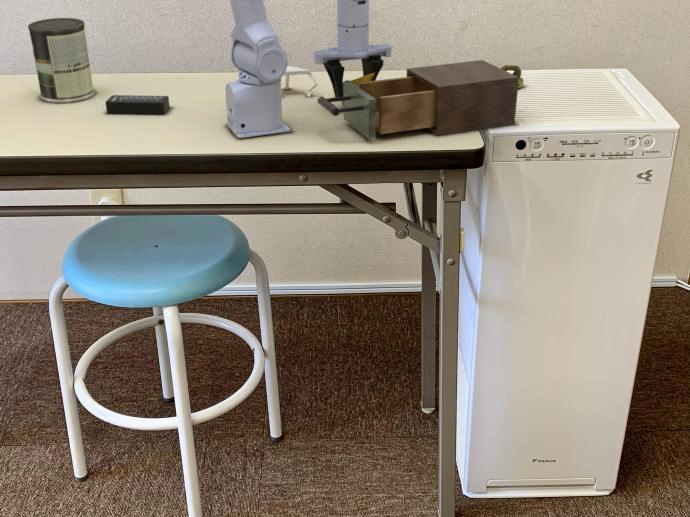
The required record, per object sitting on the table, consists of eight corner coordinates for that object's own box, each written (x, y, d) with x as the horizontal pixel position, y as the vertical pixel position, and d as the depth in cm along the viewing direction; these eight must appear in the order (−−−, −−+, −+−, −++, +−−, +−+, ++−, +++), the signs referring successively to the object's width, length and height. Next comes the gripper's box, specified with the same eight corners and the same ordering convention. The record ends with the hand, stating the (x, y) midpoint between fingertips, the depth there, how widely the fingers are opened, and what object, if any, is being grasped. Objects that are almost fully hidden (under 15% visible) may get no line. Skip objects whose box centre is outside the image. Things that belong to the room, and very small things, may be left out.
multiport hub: (164, 114, 155) (162, 102, 154) (106, 113, 155) (104, 101, 154) (170, 107, 159) (169, 95, 158) (113, 106, 159) (112, 94, 158)
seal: (449, 96, 168) (524, 96, 166) (450, 73, 165) (527, 74, 164) (448, 78, 175) (520, 78, 174) (449, 56, 173) (522, 57, 171)
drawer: (337, 143, 138) (336, 103, 135) (313, 123, 147) (312, 85, 144) (445, 128, 145) (447, 90, 141) (416, 109, 154) (417, 73, 151)
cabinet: (436, 135, 144) (439, 87, 140) (405, 114, 154) (406, 68, 150) (514, 124, 149) (519, 77, 145) (479, 104, 159) (482, 59, 155)
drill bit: (353, 100, 161) (386, 70, 155) (351, 120, 158) (385, 90, 151) (331, 86, 159) (364, 55, 152) (328, 106, 156) (362, 75, 149)
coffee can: (32, 102, 162) (18, 29, 155) (53, 87, 171) (41, 17, 164) (83, 103, 161) (71, 30, 154) (102, 88, 170) (92, 18, 163)
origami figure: (255, 99, 163) (254, 74, 161) (263, 87, 170) (262, 63, 168) (316, 100, 162) (316, 75, 160) (321, 88, 169) (321, 64, 167)
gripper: (322, 32, 144) (324, 108, 150) (399, 25, 149) (396, 99, 155) (309, 24, 150) (310, 97, 156) (382, 17, 155) (381, 89, 161)
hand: (352, 98), depth 156 cm, fingers closed on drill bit, 5 cm apart
